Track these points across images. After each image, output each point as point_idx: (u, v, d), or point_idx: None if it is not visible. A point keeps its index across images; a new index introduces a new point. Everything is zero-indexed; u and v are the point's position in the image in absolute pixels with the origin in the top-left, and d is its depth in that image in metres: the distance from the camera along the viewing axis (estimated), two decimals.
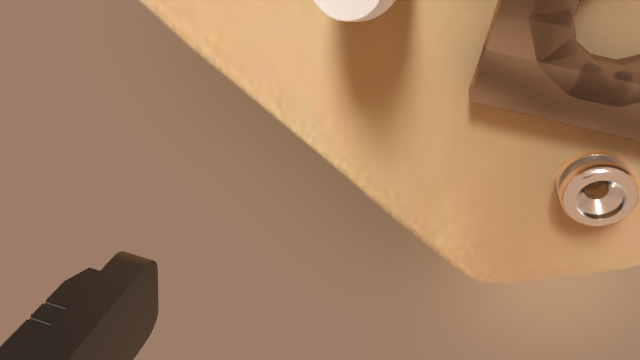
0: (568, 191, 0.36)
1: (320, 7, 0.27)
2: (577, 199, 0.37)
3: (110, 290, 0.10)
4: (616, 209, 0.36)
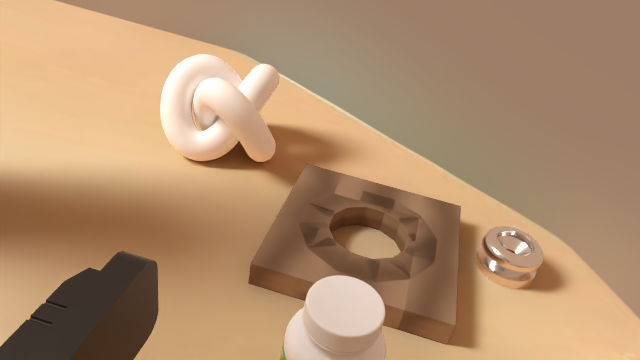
0: (516, 260, 0.42)
1: (371, 329, 0.24)
2: None
3: (110, 290, 0.10)
4: (519, 238, 0.45)
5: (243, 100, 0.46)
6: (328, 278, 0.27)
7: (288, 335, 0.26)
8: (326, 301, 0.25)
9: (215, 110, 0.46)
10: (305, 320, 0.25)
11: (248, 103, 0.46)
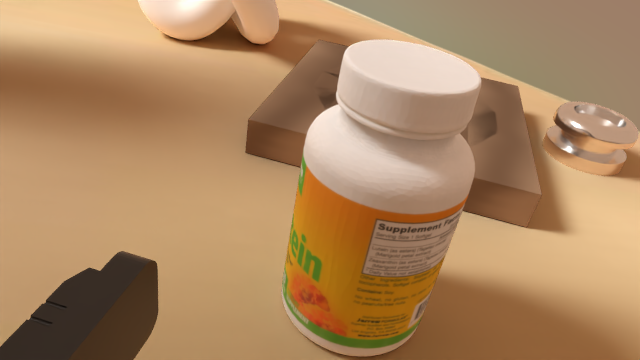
0: (606, 131, 0.31)
1: (464, 89, 0.14)
2: None
3: (110, 290, 0.10)
4: (601, 114, 0.34)
5: None
6: (377, 40, 0.16)
7: (312, 132, 0.16)
8: (379, 58, 0.15)
9: None
10: (343, 88, 0.14)
11: None
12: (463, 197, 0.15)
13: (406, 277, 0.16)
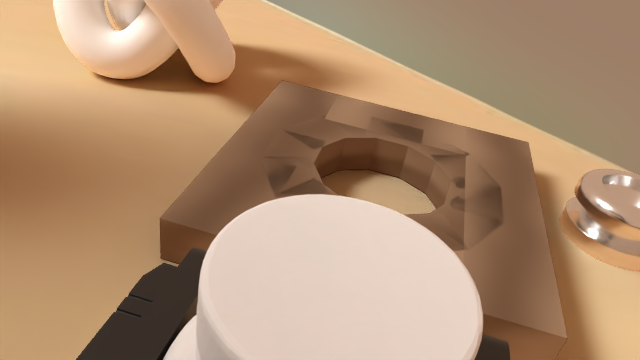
0: None
1: None
2: None
3: (191, 284, 0.10)
4: (637, 186, 0.27)
5: None
6: (288, 200, 0.09)
7: None
8: (274, 266, 0.07)
9: None
10: (197, 335, 0.07)
11: None
12: None
13: None
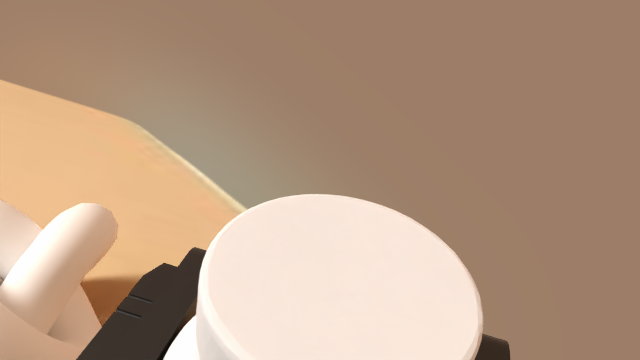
0: None
1: None
2: None
3: (190, 284, 0.10)
4: None
5: None
6: (288, 200, 0.09)
7: None
8: (274, 266, 0.07)
9: None
10: (197, 335, 0.07)
11: None
12: None
13: None
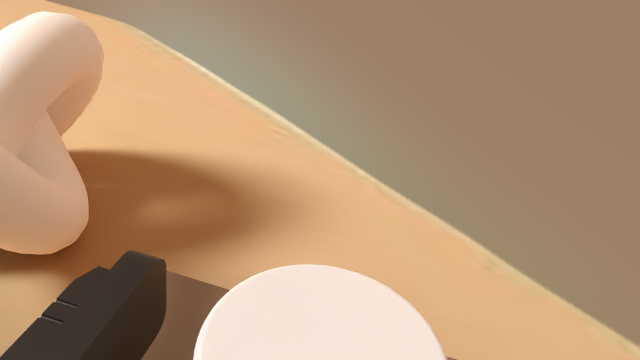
0: None
1: None
2: None
3: (120, 288, 0.10)
4: None
5: None
6: (277, 272, 0.09)
7: None
8: (262, 344, 0.08)
9: None
10: None
11: None
12: None
13: None
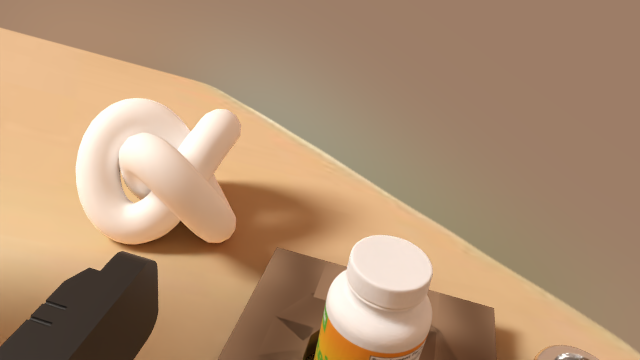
0: None
1: (420, 284, 0.24)
2: None
3: (110, 290, 0.10)
4: None
5: (181, 166, 0.32)
6: (371, 237, 0.26)
7: (331, 296, 0.26)
8: (371, 258, 0.25)
9: (142, 181, 0.32)
10: (350, 277, 0.24)
11: (189, 170, 0.32)
12: (423, 338, 0.25)
13: None
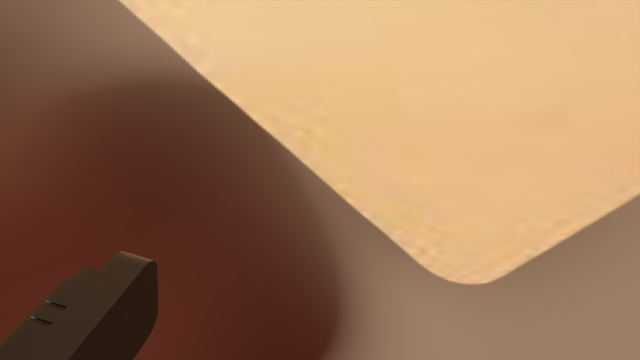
0: None
1: None
2: None
3: (110, 290, 0.10)
4: None
5: None
6: None
7: None
8: None
9: None
10: None
11: None
12: None
13: None
